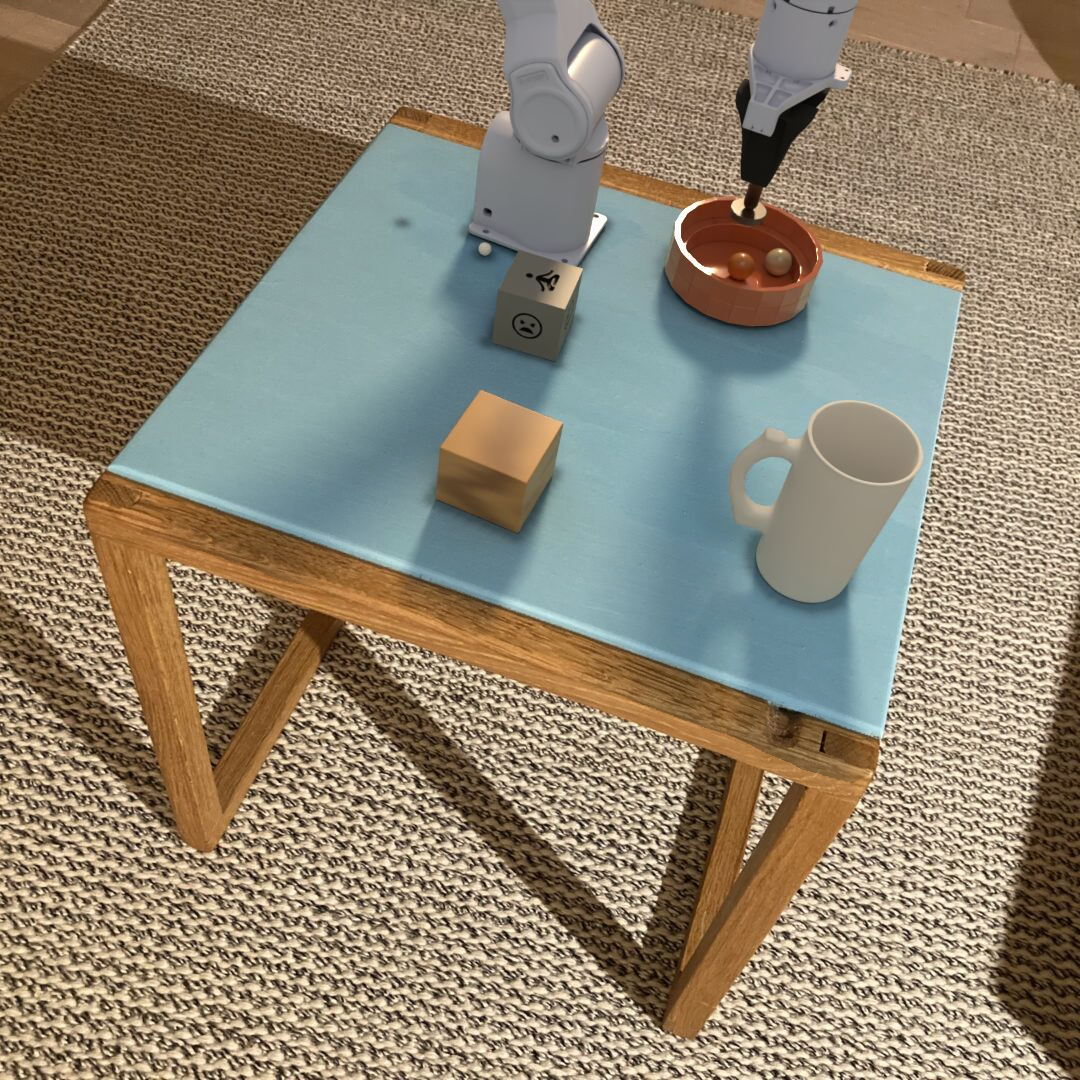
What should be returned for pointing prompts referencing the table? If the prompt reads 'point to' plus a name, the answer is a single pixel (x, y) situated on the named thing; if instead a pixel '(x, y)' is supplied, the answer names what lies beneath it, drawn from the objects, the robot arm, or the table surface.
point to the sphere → (484, 248)
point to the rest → (498, 460)
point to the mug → (827, 495)
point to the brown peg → (749, 207)
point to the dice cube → (536, 305)
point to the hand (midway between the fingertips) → (757, 176)
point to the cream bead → (778, 262)
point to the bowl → (715, 237)
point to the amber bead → (740, 266)
